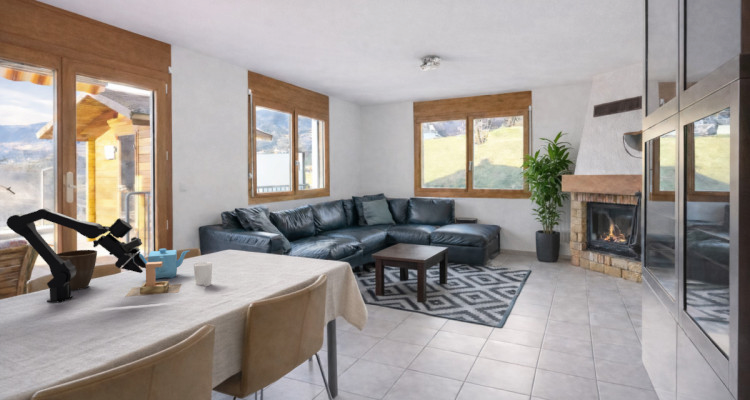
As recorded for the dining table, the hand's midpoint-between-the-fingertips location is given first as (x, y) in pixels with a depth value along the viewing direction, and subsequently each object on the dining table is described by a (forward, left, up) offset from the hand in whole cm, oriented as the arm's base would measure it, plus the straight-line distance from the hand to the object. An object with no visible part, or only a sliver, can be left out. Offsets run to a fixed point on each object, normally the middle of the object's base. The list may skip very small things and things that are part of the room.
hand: (144, 269), depth 176 cm
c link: (+2, -3, -9) cm, 10 cm away
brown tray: (+2, -3, -10) cm, 11 cm away
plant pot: (+3, +35, -10) cm, 37 cm away
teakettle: (+24, +8, -10) cm, 27 cm away
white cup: (+16, -18, -10) cm, 26 cm away
